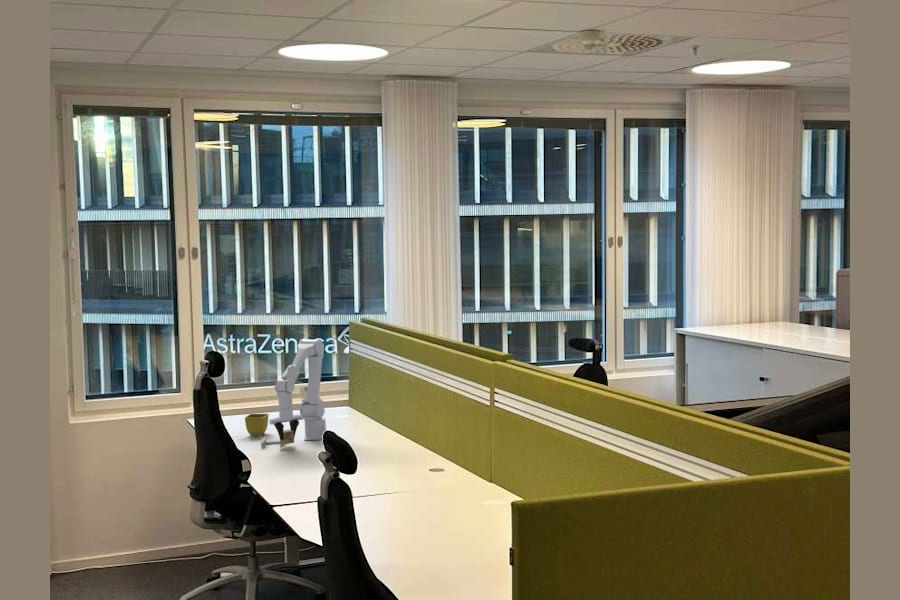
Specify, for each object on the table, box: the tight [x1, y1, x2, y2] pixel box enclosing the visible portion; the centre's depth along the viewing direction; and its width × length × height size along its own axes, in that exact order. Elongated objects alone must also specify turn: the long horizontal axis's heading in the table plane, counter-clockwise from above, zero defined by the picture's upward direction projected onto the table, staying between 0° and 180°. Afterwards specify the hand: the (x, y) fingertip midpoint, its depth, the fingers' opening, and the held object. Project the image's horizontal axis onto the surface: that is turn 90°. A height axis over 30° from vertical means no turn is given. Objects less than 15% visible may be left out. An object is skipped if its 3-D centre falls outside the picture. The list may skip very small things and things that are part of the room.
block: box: [279, 429, 295, 445], centre depth 392 cm, size 4×4×5 cm
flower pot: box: [244, 413, 269, 437], centre depth 420 cm, size 9×9×9 cm
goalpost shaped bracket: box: [260, 436, 285, 449], centre depth 399 cm, size 9×10×2 cm
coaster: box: [279, 445, 297, 451], centre depth 392 cm, size 6×6×1 cm
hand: (287, 438), depth 391 cm, fingers closed on block, 4 cm apart
